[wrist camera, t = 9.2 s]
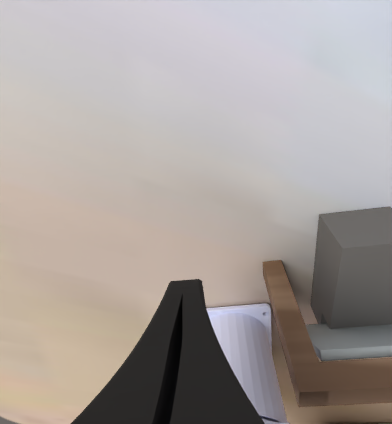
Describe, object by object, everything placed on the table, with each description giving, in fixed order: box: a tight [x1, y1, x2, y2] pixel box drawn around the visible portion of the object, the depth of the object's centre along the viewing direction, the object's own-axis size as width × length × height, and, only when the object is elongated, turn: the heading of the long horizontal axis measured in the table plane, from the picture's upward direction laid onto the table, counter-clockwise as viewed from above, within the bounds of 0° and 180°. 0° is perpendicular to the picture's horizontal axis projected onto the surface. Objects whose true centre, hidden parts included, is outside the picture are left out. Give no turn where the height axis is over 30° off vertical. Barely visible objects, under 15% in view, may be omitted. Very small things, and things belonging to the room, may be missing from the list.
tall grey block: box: [311, 207, 392, 329], centre depth 21 cm, size 10×5×4 cm, turn 8°
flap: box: [305, 323, 392, 361], centre depth 20 cm, size 1×9×7 cm
